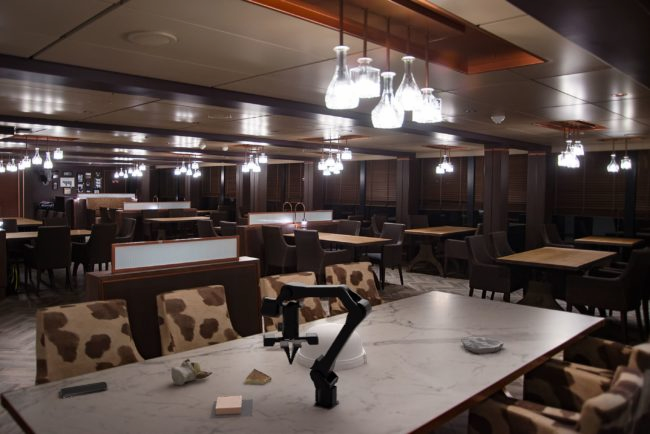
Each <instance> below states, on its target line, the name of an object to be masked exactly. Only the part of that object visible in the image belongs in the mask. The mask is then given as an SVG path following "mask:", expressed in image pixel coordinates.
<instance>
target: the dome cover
mask: <svg viewBox="0 0 650 434" xmlns="http://www.w3.org/2000/svg"><path fill="white" fill-rule="evenodd" d="M343 326H344V324H340V323H331V322H330V323H320V324H316V325H313V326H312V327H309V328H308V329H307V330H306V331H305V332H304V334H303V335H302V336H306V333H316V334H317V335H318V338H319V344H318V345H309V344H308V343H307V342H302V343H301V345H302V348H299V349H298V351H297V353H296V356H295V357H296V362H297V363H298V364H300V365H302V366H303V367H306V368H309V369H310V367H312V366H313V364H314V361H315V360H316V358H318V357H319V356H320V355H321V354H323V355H324V356H325V354H326V353H327V351H328V350H329V348H330V346H331V345H332V343H333V342H334V340H335V338H336V337H337V335H338V334H339V332H340V330H341V329H342V327H343ZM364 364H368V356H367V353H366V350H365V348H364V347H363V343H362V339H361V336H360V335H359V333H358V332H357V331H356V330H355V331H354V332H353V334H352V336H351V337H350V339H349V340H348V342H347V343H346V345H345V347H344V348H343V350H342V351H341V353H340V354H339V356H338V358H337V359H336V362H335V366H334V369H333V371H344V370H350V369H353V368H357V367H360V366H362V365H364Z"/></svg>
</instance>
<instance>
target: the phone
mask: <svg viewBox="0 0 650 434" xmlns="http://www.w3.org/2000/svg"><path fill="white" fill-rule="evenodd" d="M59 389H60V390H59V397H66V398H70V397H69V396H72V397H78V396H83V395H90V394H95V393H100V392H101V393H103V392H106V391H108V384H107V382H106V381H101V382H95V383H88V384H81V385H75V386H67V387H62V388H59ZM77 395H78V396H77Z"/></svg>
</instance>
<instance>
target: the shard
mask: <svg viewBox="0 0 650 434" xmlns="http://www.w3.org/2000/svg"><path fill="white" fill-rule="evenodd" d="M271 381H272V377H271V376H270V375H267V374H266V373H265V372H263V371H260V370H258V369H256V368H253V370H252V371H251V372H250V373H249V374H248V375H247V376H246V378H245V380H244V384H245V385H262V386H264V385H265V384H267V383H268V382H271Z"/></svg>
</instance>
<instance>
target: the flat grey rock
mask: <svg viewBox="0 0 650 434" xmlns="http://www.w3.org/2000/svg"><path fill="white" fill-rule="evenodd" d="M460 342H461V343H462V345H463V346H464V348H465V350H467V351H469V352H471V353H474V354H479V355H481V354H490V353H495V352H497V351H499V350H501V349H502V348H503V346H504V341H502V340H498V339H495V338H492V337H491V338H489V337H481V336H468V337H467V338H466V337H465V338H461V339H460Z"/></svg>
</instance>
